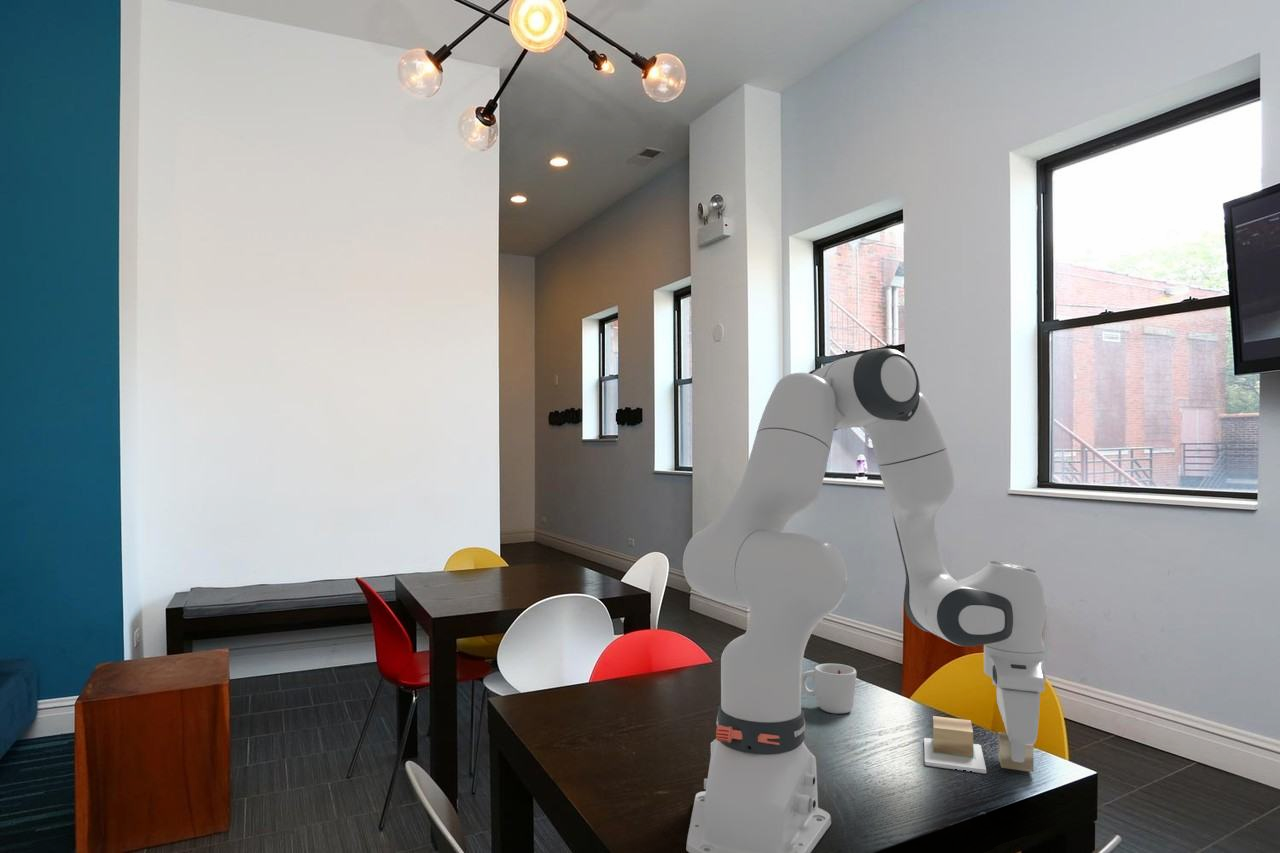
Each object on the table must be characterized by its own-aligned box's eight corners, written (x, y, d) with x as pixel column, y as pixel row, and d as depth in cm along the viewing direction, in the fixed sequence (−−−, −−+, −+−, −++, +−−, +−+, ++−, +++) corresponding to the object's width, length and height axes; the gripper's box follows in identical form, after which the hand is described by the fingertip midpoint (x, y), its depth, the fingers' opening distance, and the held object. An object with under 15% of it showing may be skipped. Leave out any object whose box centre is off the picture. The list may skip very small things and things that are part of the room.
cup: (795, 710, 146) (795, 669, 146) (806, 698, 153) (806, 659, 153) (851, 719, 141) (851, 676, 141) (860, 707, 148) (860, 666, 148)
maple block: (1033, 772, 115) (1033, 745, 115) (1001, 767, 117) (1001, 741, 117) (1029, 761, 119) (1029, 735, 120) (998, 757, 121) (998, 731, 121)
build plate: (986, 773, 117) (986, 769, 117) (924, 765, 120) (924, 761, 120) (980, 748, 127) (980, 744, 127) (924, 741, 130) (924, 737, 130)
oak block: (973, 757, 122) (973, 732, 122) (934, 752, 124) (933, 727, 124) (971, 744, 127) (970, 720, 127) (933, 739, 129) (933, 716, 129)
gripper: (987, 648, 130) (987, 729, 129) (998, 679, 111) (999, 774, 110) (1027, 652, 127) (1028, 734, 127) (1046, 684, 108) (1047, 781, 108)
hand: (1015, 753), depth 118 cm, fingers closed on maple block, 4 cm apart
